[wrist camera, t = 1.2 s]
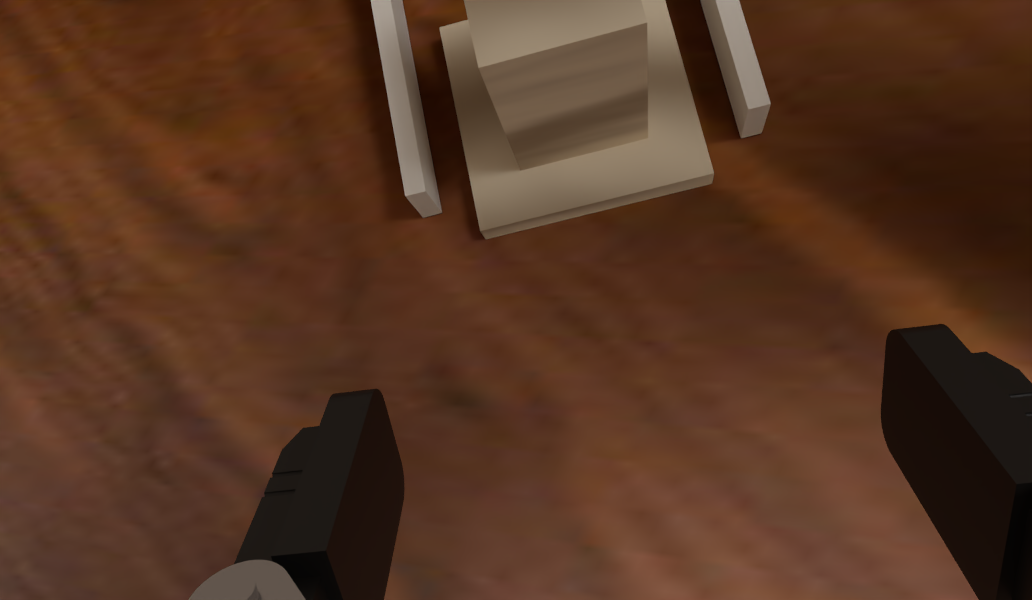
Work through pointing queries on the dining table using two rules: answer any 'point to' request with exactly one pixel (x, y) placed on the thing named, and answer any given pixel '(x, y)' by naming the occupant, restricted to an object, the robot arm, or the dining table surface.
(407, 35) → the ladder rail frame
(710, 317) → the dining table surface
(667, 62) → the pawn block
